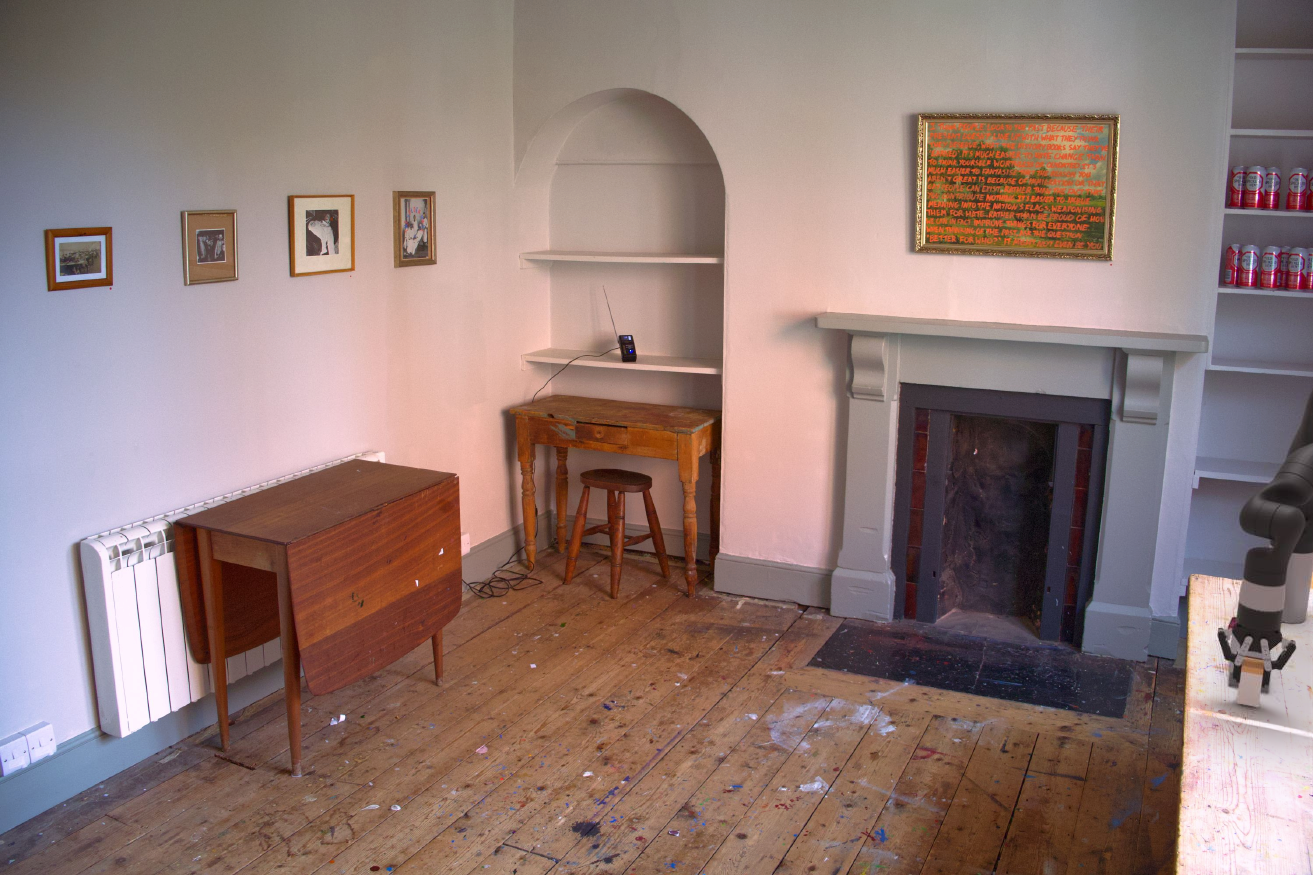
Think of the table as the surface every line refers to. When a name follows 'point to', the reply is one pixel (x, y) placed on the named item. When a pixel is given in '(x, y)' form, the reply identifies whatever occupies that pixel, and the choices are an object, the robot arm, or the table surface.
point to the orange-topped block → (1250, 682)
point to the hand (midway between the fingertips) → (1250, 682)
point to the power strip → (1249, 654)
